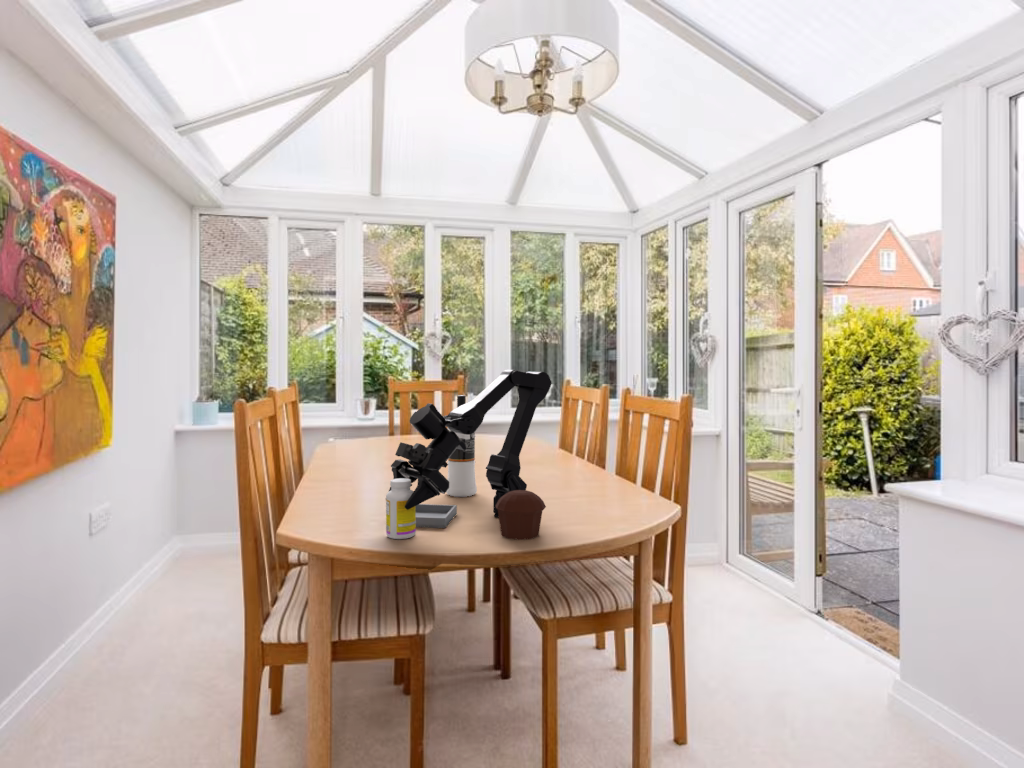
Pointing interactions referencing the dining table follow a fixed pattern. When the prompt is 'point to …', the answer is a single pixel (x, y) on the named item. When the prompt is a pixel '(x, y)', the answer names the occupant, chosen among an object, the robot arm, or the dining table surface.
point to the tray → (434, 515)
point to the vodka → (462, 465)
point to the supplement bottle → (400, 510)
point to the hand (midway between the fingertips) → (396, 504)
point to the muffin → (520, 514)
